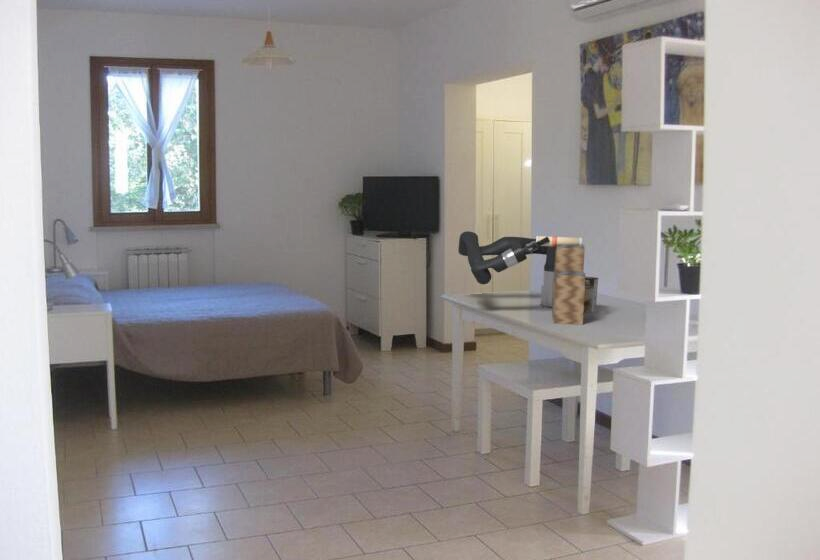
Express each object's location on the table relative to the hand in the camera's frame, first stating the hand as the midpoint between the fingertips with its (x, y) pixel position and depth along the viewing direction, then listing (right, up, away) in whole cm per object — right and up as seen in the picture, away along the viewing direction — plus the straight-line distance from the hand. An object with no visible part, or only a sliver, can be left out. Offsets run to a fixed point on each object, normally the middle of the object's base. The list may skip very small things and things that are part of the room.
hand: (548, 238), depth 393 cm
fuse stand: (+8, -36, -1) cm, 37 cm away
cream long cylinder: (+5, -4, 0) cm, 6 cm away
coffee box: (+22, -33, +28) cm, 48 cm away
